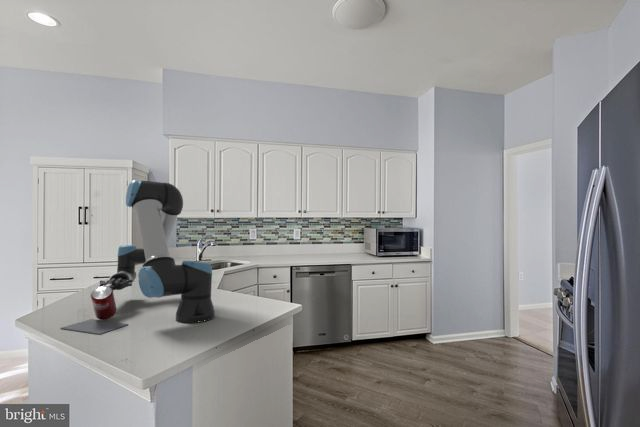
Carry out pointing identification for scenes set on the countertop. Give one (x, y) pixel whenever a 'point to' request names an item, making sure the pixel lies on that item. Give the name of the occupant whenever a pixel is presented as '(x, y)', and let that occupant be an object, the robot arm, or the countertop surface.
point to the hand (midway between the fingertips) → (105, 290)
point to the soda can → (103, 302)
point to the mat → (94, 326)
